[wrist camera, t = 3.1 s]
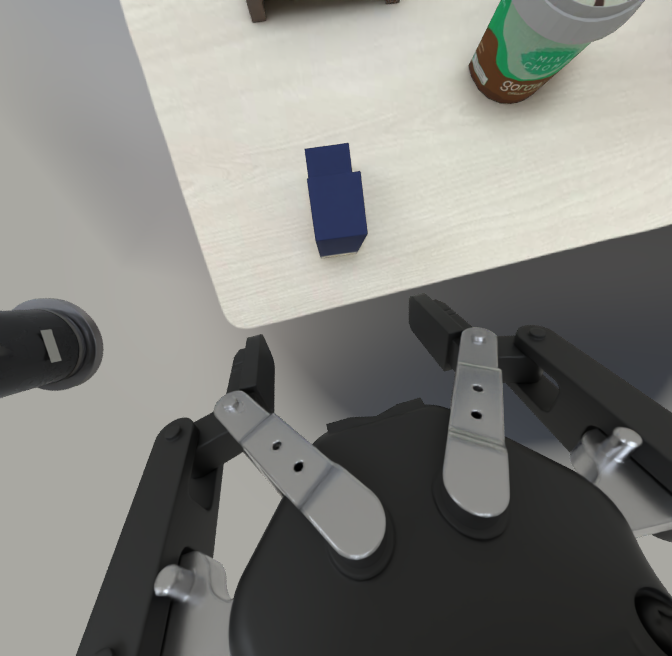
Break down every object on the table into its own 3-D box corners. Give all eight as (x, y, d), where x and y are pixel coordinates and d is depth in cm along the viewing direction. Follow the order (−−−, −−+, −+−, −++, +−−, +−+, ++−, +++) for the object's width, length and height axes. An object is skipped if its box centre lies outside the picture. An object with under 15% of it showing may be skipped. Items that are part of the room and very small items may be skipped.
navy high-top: (320, 258, 30) (315, 241, 21) (308, 170, 29) (297, 110, 20) (356, 253, 30) (367, 234, 21) (346, 165, 29) (352, 103, 19)
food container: (465, 127, 28) (537, 35, 18) (455, 68, 28) (524, -60, 18) (571, 100, 28) (702, -8, 18) (564, 40, 27) (696, -107, 17)
